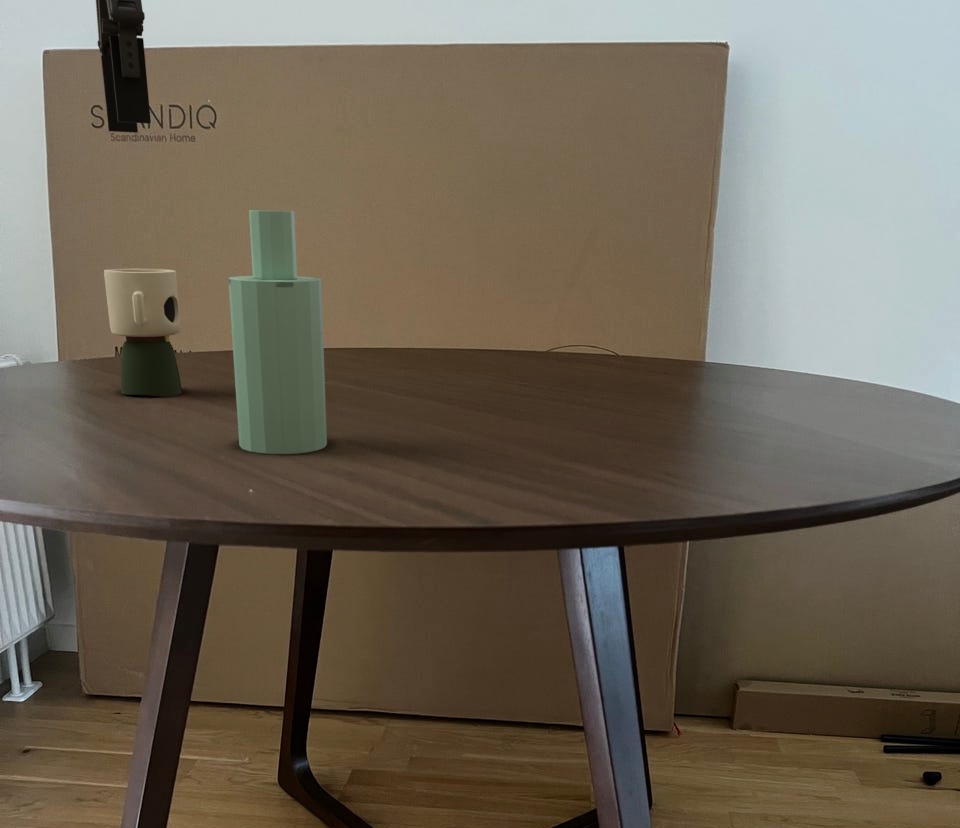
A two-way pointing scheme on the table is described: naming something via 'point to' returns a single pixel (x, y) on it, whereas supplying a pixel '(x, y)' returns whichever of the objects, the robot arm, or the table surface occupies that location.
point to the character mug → (145, 328)
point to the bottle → (278, 344)
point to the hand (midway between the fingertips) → (128, 128)
